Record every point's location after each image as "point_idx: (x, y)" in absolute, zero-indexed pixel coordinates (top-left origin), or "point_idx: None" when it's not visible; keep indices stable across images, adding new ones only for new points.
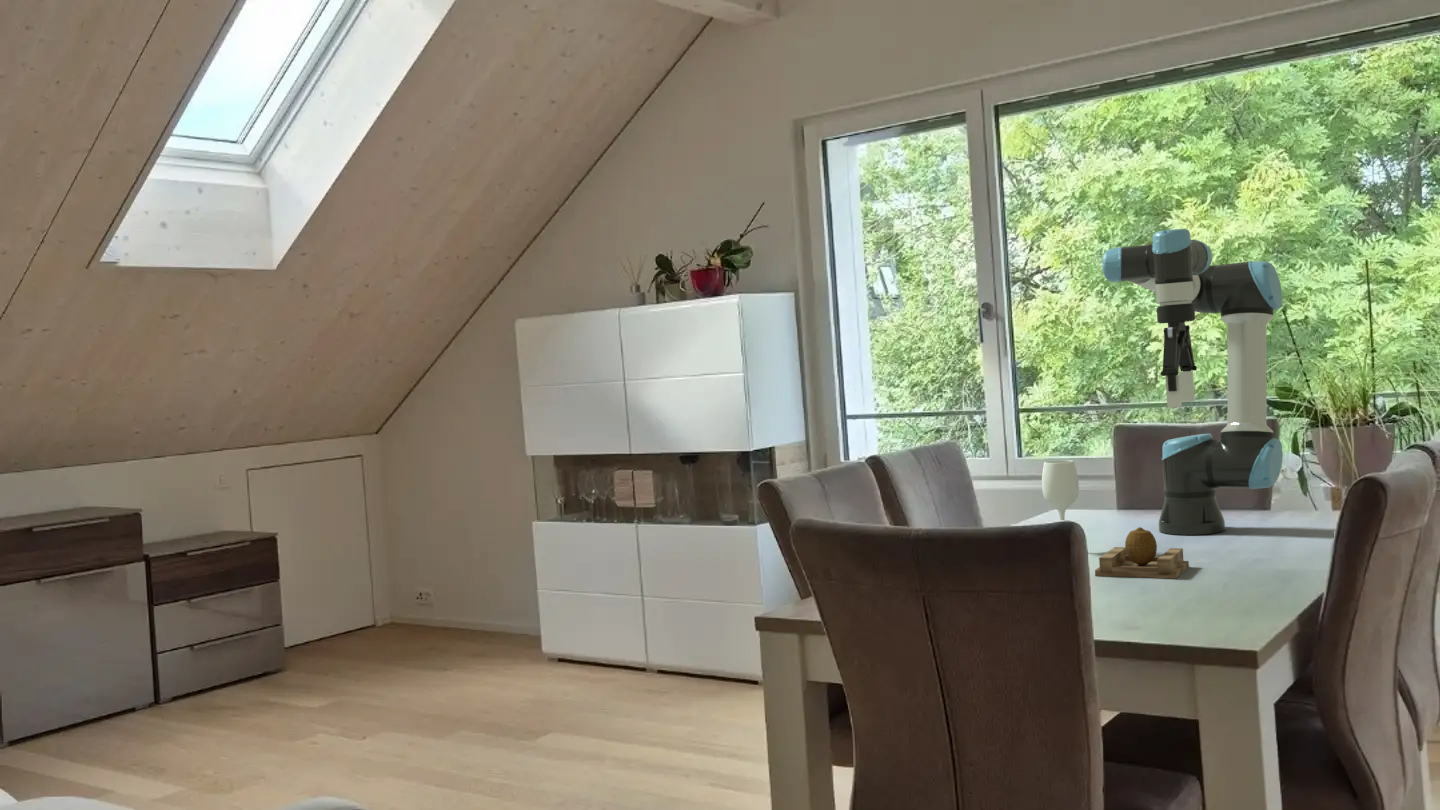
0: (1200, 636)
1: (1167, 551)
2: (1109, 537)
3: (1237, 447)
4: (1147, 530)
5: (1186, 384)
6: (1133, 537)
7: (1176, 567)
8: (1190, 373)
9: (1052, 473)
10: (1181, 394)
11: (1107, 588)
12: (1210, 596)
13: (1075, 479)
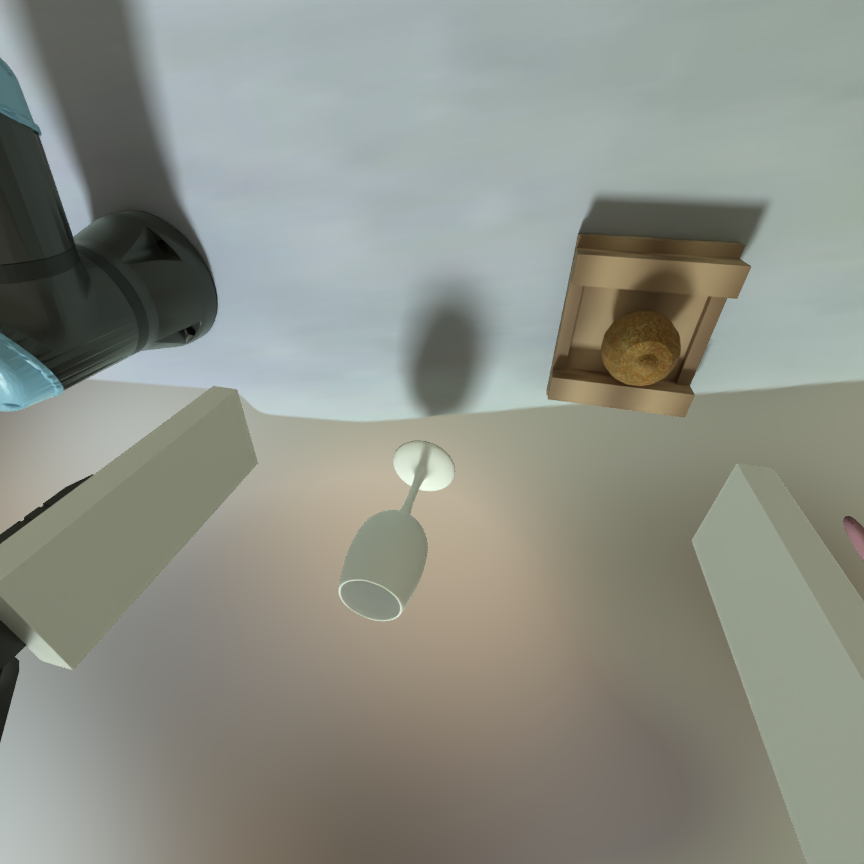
0: None
1: (619, 286)
2: (276, 412)
3: None
4: (642, 347)
5: (155, 518)
6: (670, 371)
7: (669, 253)
8: (33, 578)
9: (413, 592)
10: (226, 492)
11: (828, 374)
12: None
13: (391, 544)
